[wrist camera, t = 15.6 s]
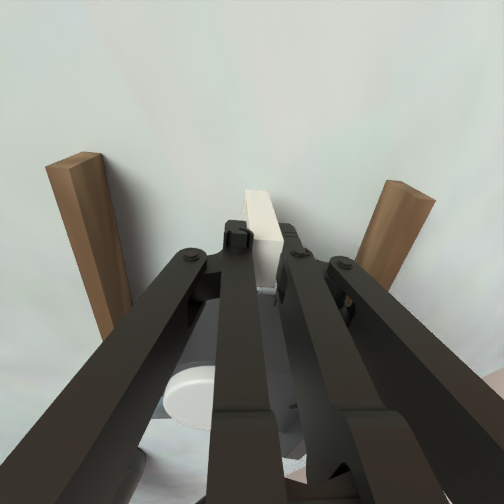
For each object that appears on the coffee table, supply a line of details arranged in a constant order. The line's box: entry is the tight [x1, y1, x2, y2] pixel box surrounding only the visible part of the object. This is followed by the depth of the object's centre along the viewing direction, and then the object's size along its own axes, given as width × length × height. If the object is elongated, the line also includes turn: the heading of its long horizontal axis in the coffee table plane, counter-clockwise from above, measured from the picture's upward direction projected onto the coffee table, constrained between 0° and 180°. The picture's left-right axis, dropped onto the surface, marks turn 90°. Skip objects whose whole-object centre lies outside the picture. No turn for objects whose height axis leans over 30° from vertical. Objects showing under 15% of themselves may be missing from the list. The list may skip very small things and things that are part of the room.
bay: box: [45, 152, 436, 419], centre depth 23 cm, size 23×26×5 cm
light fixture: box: [162, 294, 306, 460], centre depth 22 cm, size 11×13×11 cm
